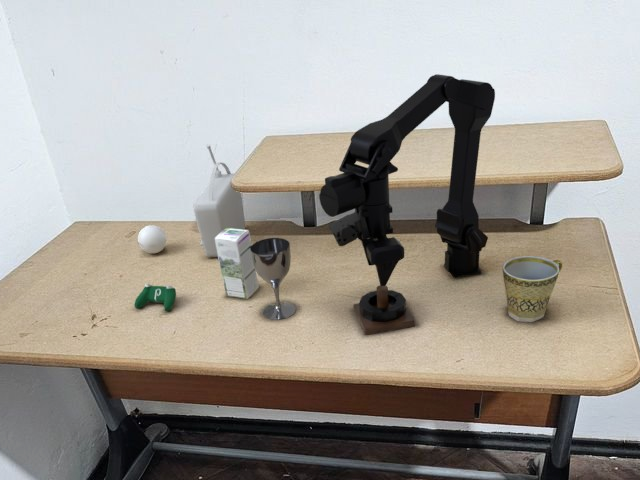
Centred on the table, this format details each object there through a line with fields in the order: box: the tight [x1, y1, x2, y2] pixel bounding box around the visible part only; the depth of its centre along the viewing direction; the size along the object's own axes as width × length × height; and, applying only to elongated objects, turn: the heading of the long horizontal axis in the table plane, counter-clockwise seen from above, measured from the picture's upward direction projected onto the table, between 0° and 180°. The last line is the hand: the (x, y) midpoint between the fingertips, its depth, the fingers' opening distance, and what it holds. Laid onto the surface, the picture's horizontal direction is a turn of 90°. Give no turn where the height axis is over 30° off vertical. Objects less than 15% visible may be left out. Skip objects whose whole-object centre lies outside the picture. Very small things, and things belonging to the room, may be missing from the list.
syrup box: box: [215, 228, 260, 300], centre depth 138 cm, size 6×6×14 cm
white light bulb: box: [127, 224, 168, 254], centre depth 164 cm, size 10×7×7 cm
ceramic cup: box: [502, 255, 563, 323], centre depth 120 cm, size 13×10×10 cm
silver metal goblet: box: [250, 237, 297, 321], centre depth 129 cm, size 8×8×15 cm
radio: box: [193, 143, 246, 258], centre depth 159 cm, size 22×8×25 cm, turn 172°
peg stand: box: [352, 284, 416, 336], centre depth 125 cm, size 10×10×7 cm
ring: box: [358, 289, 407, 322], centre depth 126 cm, size 9×9×2 cm
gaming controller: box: [134, 283, 177, 312], centre depth 141 cm, size 9×4×6 cm
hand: (377, 274), depth 125 cm, fingers open, 9 cm apart
